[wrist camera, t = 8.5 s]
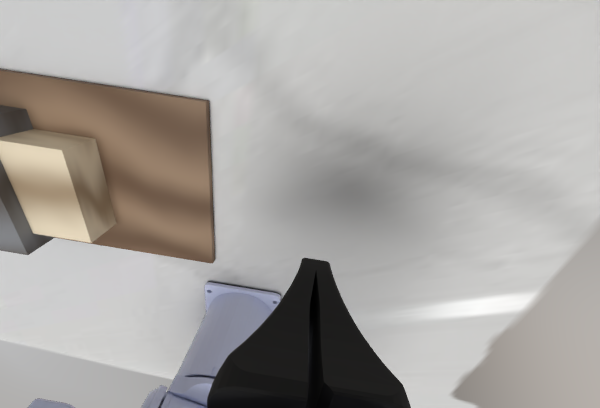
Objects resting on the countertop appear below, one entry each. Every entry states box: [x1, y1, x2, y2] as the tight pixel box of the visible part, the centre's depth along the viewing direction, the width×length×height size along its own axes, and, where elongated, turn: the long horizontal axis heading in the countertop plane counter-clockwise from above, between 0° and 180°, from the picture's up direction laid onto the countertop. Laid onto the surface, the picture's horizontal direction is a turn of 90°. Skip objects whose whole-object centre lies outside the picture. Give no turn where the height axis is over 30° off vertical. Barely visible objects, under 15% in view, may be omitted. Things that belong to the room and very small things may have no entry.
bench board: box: [0, 69, 215, 263], centre depth 21 cm, size 15×17×5 cm
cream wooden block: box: [0, 129, 116, 243], centre depth 22 cm, size 8×5×3 cm, turn 173°
